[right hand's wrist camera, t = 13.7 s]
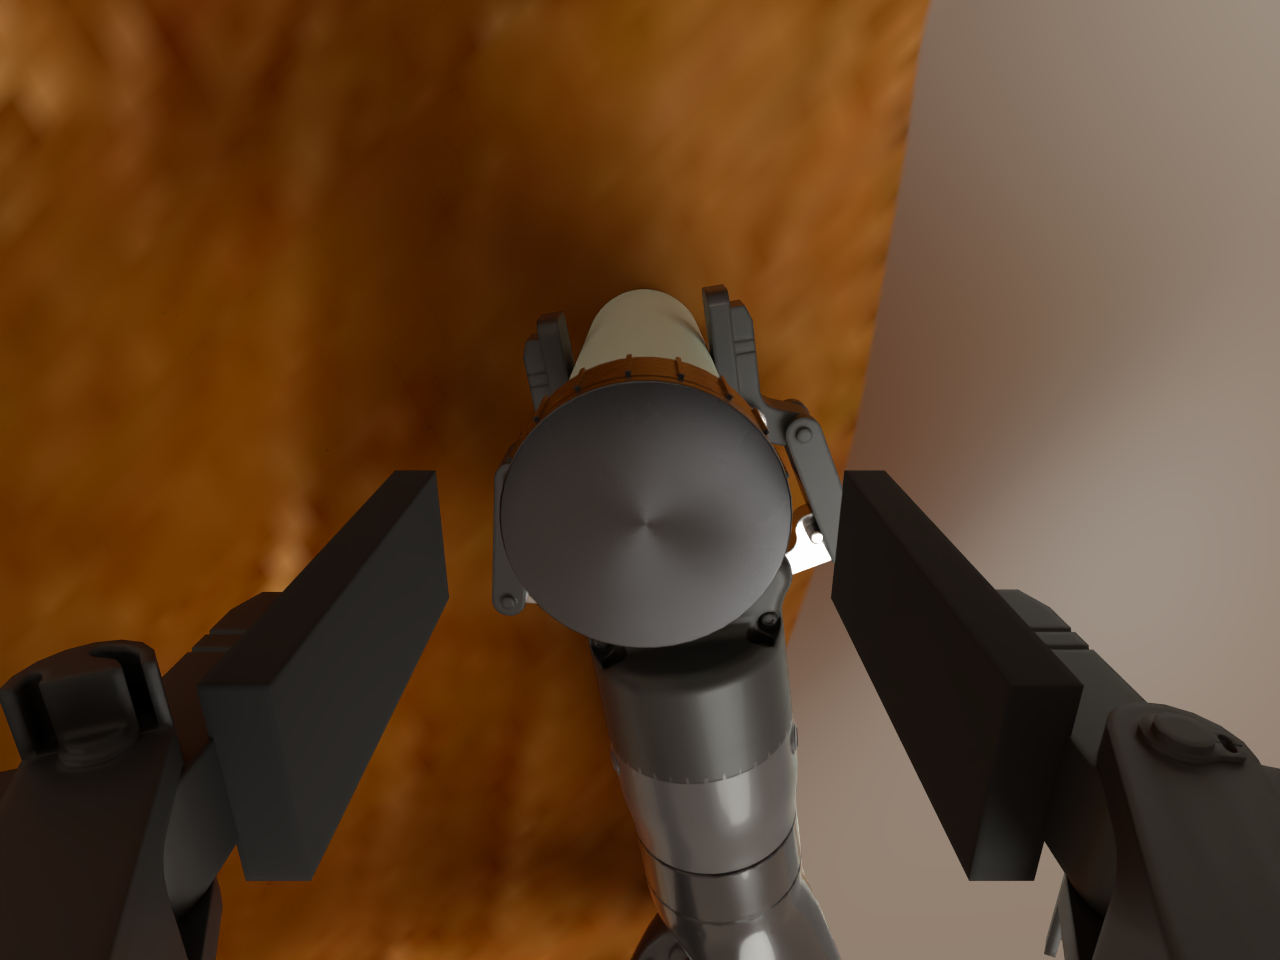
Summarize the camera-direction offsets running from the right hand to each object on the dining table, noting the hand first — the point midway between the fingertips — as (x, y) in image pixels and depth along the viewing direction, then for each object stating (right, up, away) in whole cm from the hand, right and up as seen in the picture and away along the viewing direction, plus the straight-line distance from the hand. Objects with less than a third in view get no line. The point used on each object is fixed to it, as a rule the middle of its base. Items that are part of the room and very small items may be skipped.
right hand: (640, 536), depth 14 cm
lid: (0, 0, 0) cm, 0 cm away
